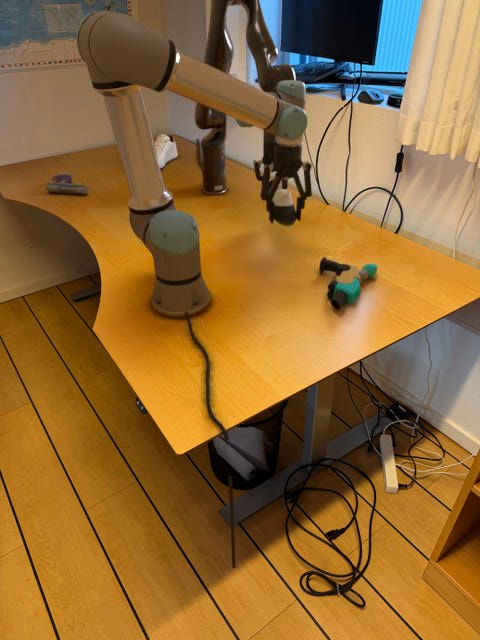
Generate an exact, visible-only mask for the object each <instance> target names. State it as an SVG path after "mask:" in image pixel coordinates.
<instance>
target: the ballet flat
mask: <svg viewBox="0 0 480 640" xmlns="http://www.w3.org/2000/svg"><path fill="white" fill-rule="evenodd" d="M273 180H274V179H270V180H269V185H268V191H269V189H270V187H271V185H272V182H273ZM268 191H267V194H268ZM272 200H273V201H274V221H275V222H276V223H278V224H279V225H280V226H284V227H291V226H293V225H295V223H296V221H297V214H296V207H295V203H294V202H293V198H292V194H291V191H290V190H289V189H287V190H286V189H283V187H282V182H280V184H279V186H278V188H277V190H276V193H275V195H274V197H273V199H272Z"/></svg>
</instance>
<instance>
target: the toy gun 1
mask: <svg viewBox="0 0 480 640" xmlns="http://www.w3.org/2000/svg"><path fill="white" fill-rule="evenodd" d="M72 182H73V176H72V174H70V173H58V174H56V175H53V177H52V178H51V182H47V185H46V188H45V190H46V191H47V192H49V193H57V194H74V195H87V192H88V191H89V187H88V185H84V184H78V183H76V184H75V183H72Z"/></svg>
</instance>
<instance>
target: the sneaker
mask: <svg viewBox="0 0 480 640" xmlns="http://www.w3.org/2000/svg"><path fill="white" fill-rule="evenodd" d="M154 145H155V149H156V153H157V158H158V162H159V166H160V169H162V168H164V167H165V166H166V164H167V163H168V162H170V161H172V160H175V159H176V158H177V157H178V156H179V155H178V149H177V144H176V140H175V136H174V135H173V134H164V133H161V134H158V135H157V137H156V139H155V140H154Z"/></svg>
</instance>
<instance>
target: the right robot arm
mask: <svg viewBox="0 0 480 640" xmlns="http://www.w3.org/2000/svg"><path fill="white" fill-rule="evenodd" d="M235 6H242V7H243V9H244V11H245V13H246V15H247V21H246V28H245V41H246V45H247V47H248V49H249V52H250V54H251V56H252V58H253V60H254V64H255V69H256V74H257V82H258V85H259V88H260V90H262V91H264V92H266V93H268V92H274V91H277V90H276V89H277V84H278V83H279V82H280V81H284V80H296V73H295V70H294V68H293V67H292V65H290V64H287V63H283V64H276V65H273V64H274V63H275V62H276V61H277V59H278V57H279V50H278V48H277V46H276V43H275V41H274V39H273V38H272V37H273V36H272V35H271V33H270V31H269V29H268V28H269V27H268V26H267V23H266V21H265V18H264V17H265V16H264V14H263V13H264V12H263V10H262V6H261V3H260V0H210V11H209V12H210V13H209V23H208V32H207V38H206V44H205V50H204V57H203V62H204V63H206V64H208V65H210V66H212V67H214V68H216V69H218V70H220V71H222V72H224V73H227V74H229V75H230V73H231V69H232V65H233V60H234V54H235V53H234V52H235V49H234V44H233V41H232V38H231V35H230V32H229V31H228V27H227V12H228V7H235ZM193 116H194V123H195V126H196V127H197V128H198V129H199V130H210V131H209V132H208V133H207V134H206V135H204V136H203V137H202V138H201V139H199V138H196V142H197V146H198V147H197V148H198V149H197V151H198V152H197V154H198V160H199V164H200V166H201V172H202V173H201V176H202V177H201V179H202V191H203V193H204V194H207V195H214V196H215V195H223V194H224V193H226V192H227V191H228V188H227V161H226V160H227V159H226V141H227V124H228V123H227V121H228V118H227V116H228V115H226V114H224V113H222V112H219V111H217V110H214V109H212V108H209V107H207V106H205V105H202V104H200V103H197V102H195V106H194V115H193ZM275 136H276V135H274V134H272V133H269V132H267V131H264V130H263V139H262V141H263V143H262V146H263V147H262V152H263V153H262V158H261V159H259V160H253V169H254V174H255V178H256V180H257V181H258V182H261V184H262V183H263V177H264V171H263V173H262V175H261V170H260V169H261V168H262V165H263V166H264V165H265V164H267V165H270V164H273V162H274V159H275V144H276V143H277V142H276V141H275ZM276 172H277V171H276V170H275V169H274V168H273V169H272V172H271V173H276ZM289 179H293V177H286V178H283V179H282V181H281V183H282V187H283V189H286V190H288V184H289V183H288V181H289Z"/></svg>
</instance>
